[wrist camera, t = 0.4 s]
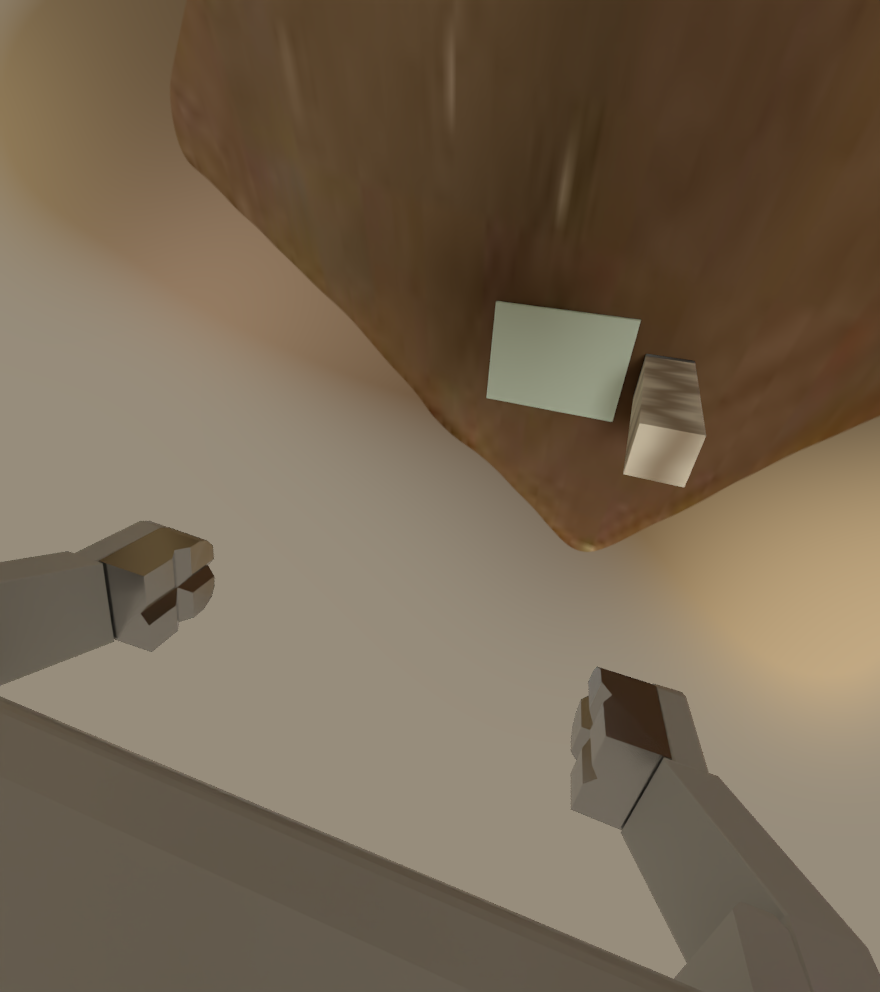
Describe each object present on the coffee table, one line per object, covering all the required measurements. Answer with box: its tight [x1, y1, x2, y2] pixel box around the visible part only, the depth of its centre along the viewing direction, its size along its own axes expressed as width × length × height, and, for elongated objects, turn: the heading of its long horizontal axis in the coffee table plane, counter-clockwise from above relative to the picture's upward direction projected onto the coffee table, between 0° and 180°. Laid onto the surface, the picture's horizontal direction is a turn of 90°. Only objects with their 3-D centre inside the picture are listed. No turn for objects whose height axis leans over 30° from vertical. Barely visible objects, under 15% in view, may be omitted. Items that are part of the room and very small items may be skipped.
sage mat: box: [486, 301, 641, 422], centre depth 56 cm, size 16×12×1 cm
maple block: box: [623, 354, 706, 487], centre depth 46 cm, size 5×5×18 cm
